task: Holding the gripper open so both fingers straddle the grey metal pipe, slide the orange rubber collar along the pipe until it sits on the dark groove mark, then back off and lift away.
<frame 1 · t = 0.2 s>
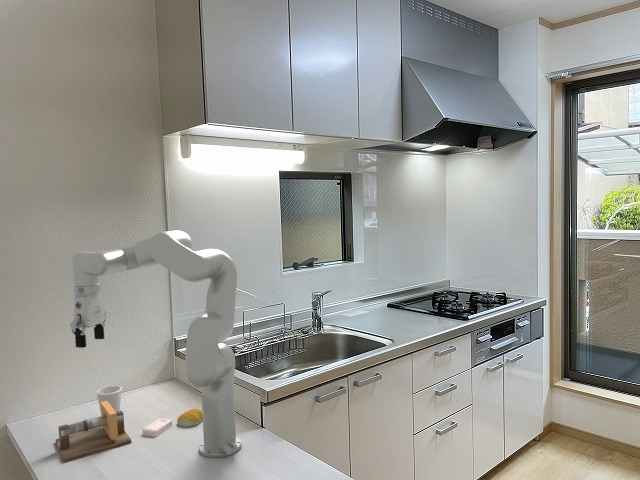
hand: (90, 343, 159), 30 cm above the countertop, tool pointing down, fingers open, 9 cm apart
pipe stand: (93, 442, 156), on the countertop
soap bar: (158, 431, 164), on the countertop
collar: (109, 419, 158), point 6 cm above the countertop, slide at 0.0 cm
bread roll: (191, 422, 169), on the countertop
dixie cup: (110, 417, 175), on the countertop
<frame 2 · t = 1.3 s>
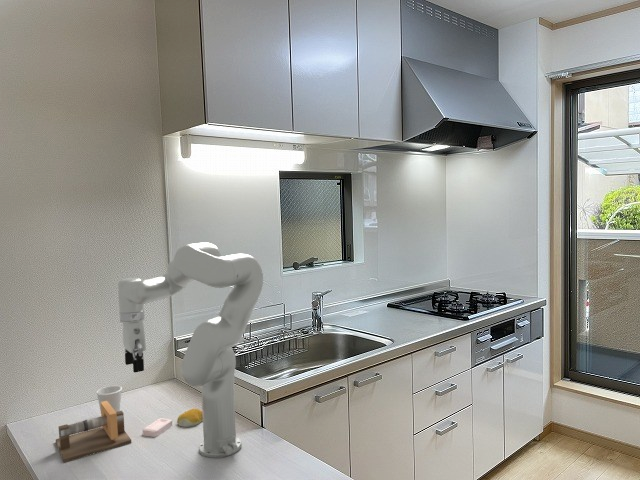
hand: (134, 367, 163), 21 cm above the countertop, tool pointing down, fingers open, 9 cm apart
nothing on the countertop moved.
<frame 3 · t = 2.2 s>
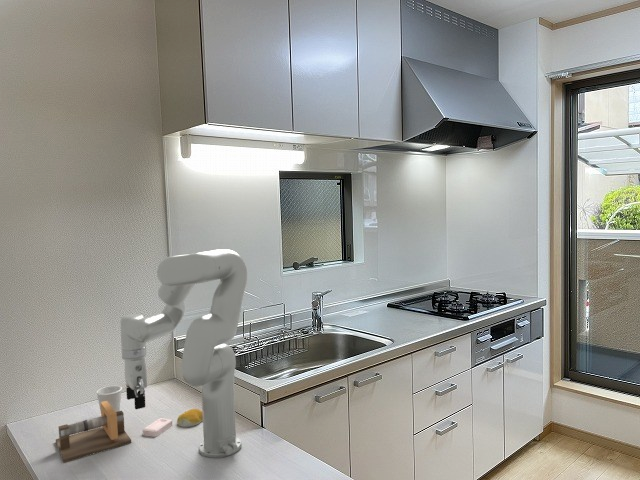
hand: (135, 403, 164), 9 cm above the countertop, tool pointing down, fingers open, 9 cm apart
nothing on the countertop moved.
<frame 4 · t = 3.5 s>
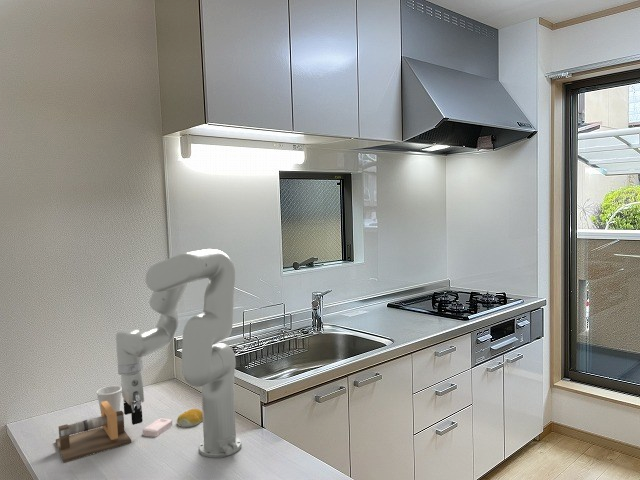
hand: (133, 418, 163), 4 cm above the countertop, tool pointing down, fingers open, 9 cm apart
nothing on the countertop moved.
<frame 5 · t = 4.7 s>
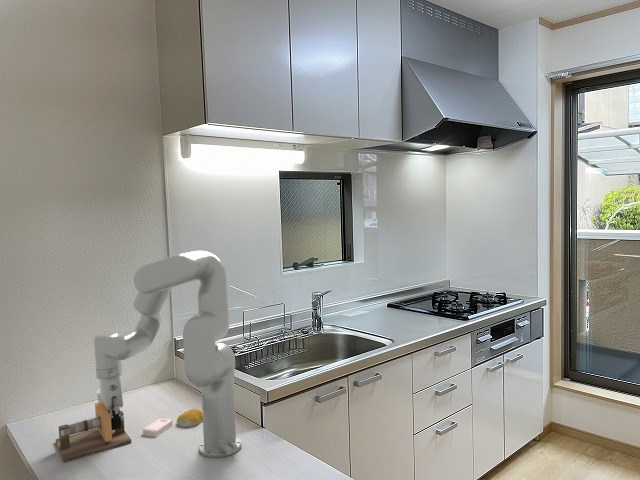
hand: (112, 423, 159), 4 cm above the countertop, tool pointing down, fingers open, 9 cm apart
collar: (103, 421, 157), point 6 cm above the countertop, slide at 1.7 cm, touching gripper
everything else where it was.
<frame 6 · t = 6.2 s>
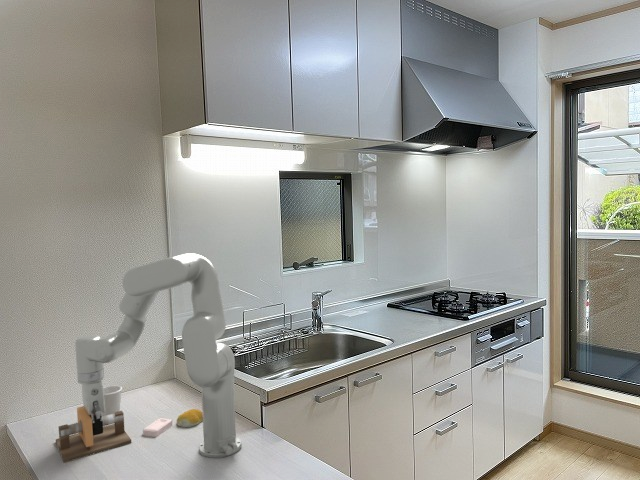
hand: (94, 428, 156), 4 cm above the countertop, tool pointing down
collar: (84, 425, 154), point 6 cm above the countertop, slide at 7.1 cm, touching gripper
everything else where it was.
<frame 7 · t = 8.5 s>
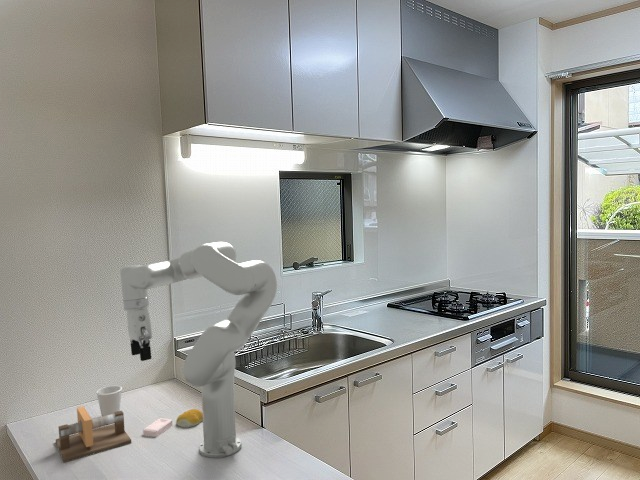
hand: (141, 357, 158), 26 cm above the countertop, tool pointing down, fingers open, 9 cm apart
collar: (84, 425, 154), point 6 cm above the countertop, slide at 7.1 cm
everything else where it was.
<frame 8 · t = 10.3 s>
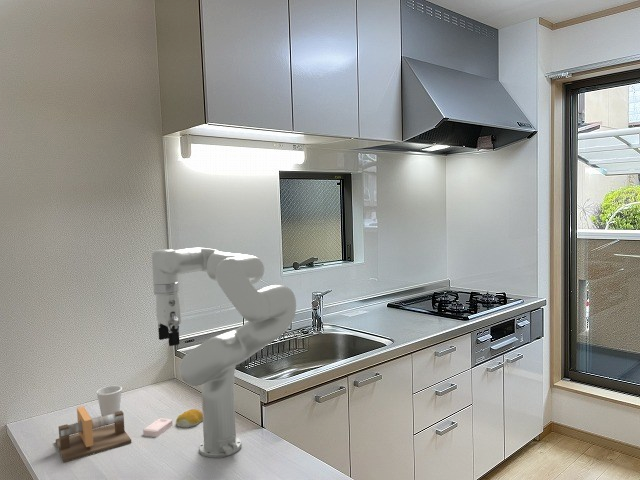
hand: (169, 341, 158), 30 cm above the countertop, tool pointing down, fingers open, 9 cm apart
nothing on the countertop moved.
at the end: collar slide at 7.1 cm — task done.
